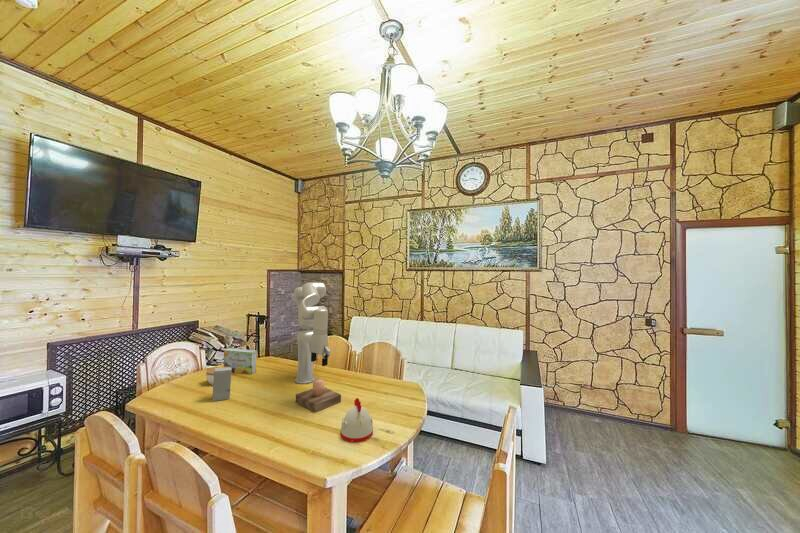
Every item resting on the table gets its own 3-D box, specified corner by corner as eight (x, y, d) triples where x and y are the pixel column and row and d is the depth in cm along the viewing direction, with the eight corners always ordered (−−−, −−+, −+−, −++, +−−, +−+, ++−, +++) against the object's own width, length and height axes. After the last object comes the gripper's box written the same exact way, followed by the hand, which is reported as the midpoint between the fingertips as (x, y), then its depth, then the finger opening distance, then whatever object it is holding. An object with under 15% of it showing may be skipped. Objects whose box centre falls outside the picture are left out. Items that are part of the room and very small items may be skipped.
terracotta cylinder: (310, 394, 160) (310, 381, 160) (319, 391, 164) (319, 378, 165) (317, 397, 156) (317, 383, 156) (326, 393, 161) (326, 380, 161)
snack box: (222, 372, 201) (223, 349, 202) (228, 369, 207) (229, 347, 207) (251, 374, 198) (251, 351, 198) (256, 371, 204) (257, 349, 204)
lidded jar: (229, 382, 184) (230, 367, 184) (211, 387, 175) (211, 371, 175) (220, 378, 190) (221, 363, 190) (202, 383, 181) (202, 368, 181)
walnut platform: (295, 401, 160) (295, 394, 160) (320, 392, 172) (320, 385, 172) (315, 412, 148) (315, 404, 148) (340, 402, 160) (341, 394, 161)
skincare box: (211, 402, 157) (212, 371, 157) (213, 396, 163) (214, 367, 163) (230, 399, 161) (231, 369, 161) (230, 394, 167) (231, 365, 167)
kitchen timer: (344, 445, 121) (345, 408, 122) (337, 428, 134) (338, 394, 134) (377, 438, 127) (378, 402, 127) (367, 422, 140) (368, 390, 140)
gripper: (304, 329, 163) (303, 361, 163) (324, 335, 152) (323, 369, 152) (316, 328, 169) (315, 358, 169) (336, 333, 158) (334, 365, 158)
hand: (319, 363), depth 161 cm, fingers open, 9 cm apart
